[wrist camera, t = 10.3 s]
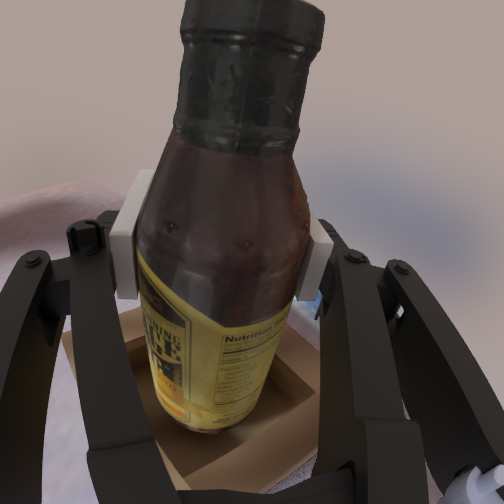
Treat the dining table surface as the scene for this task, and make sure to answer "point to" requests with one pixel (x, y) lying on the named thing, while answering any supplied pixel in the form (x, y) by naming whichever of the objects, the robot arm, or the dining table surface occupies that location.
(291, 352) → the open wooden box
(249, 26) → the sauce bottle
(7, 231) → the dining table surface
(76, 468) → the dining table surface
